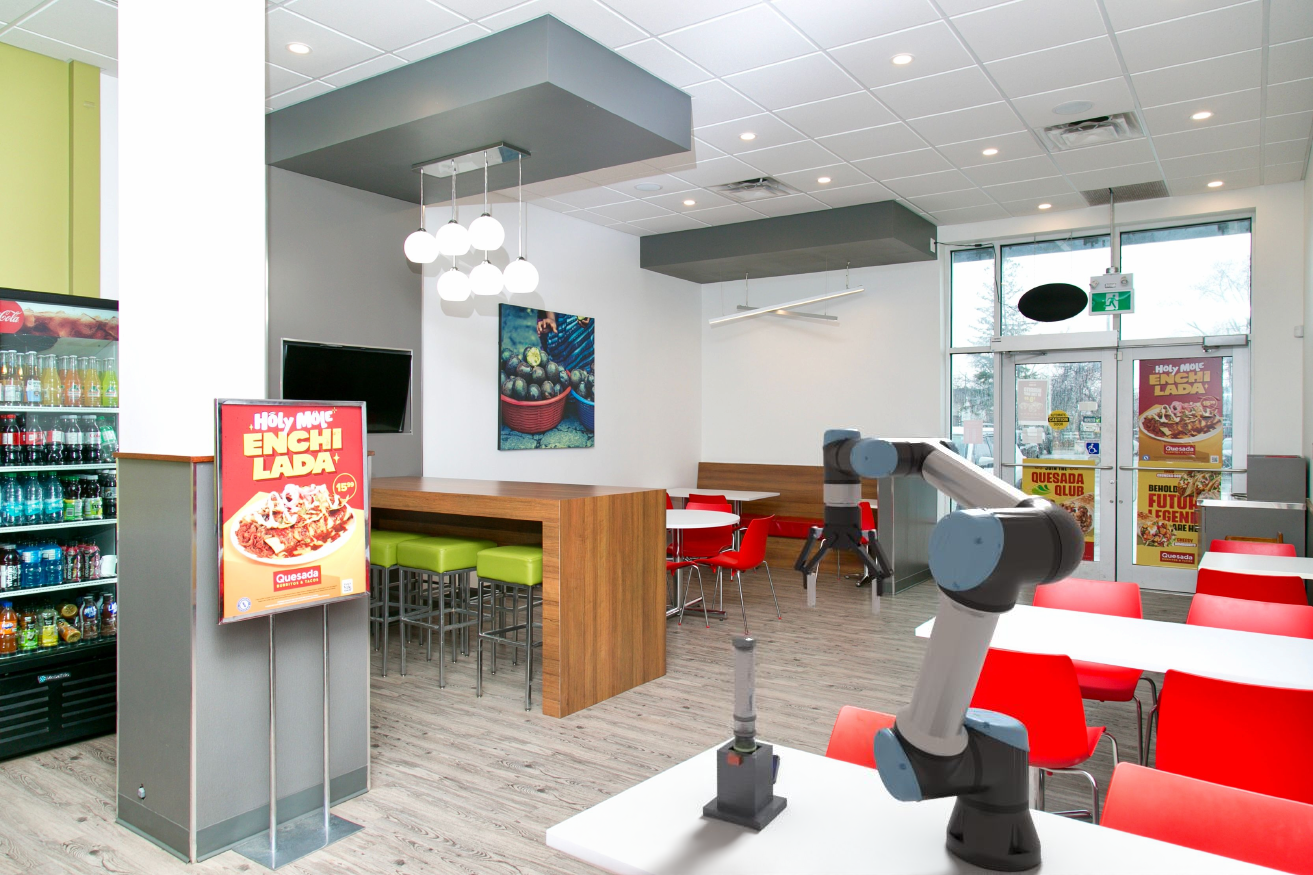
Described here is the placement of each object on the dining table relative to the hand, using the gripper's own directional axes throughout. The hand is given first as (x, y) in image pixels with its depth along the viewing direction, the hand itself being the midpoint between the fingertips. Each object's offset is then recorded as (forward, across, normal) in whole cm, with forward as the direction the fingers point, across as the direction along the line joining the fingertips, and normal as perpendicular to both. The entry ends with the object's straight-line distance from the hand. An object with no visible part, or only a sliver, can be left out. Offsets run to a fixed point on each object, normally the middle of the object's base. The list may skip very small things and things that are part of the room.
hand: (843, 608), depth 165 cm
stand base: (+37, +13, +19) cm, 43 cm away
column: (+27, +13, +19) cm, 35 cm away
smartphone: (+37, +19, -1) cm, 42 cm away
